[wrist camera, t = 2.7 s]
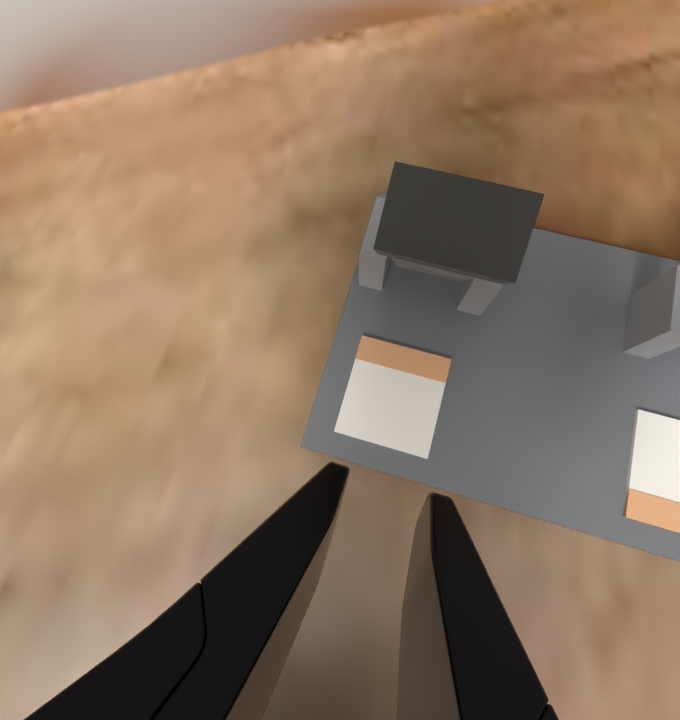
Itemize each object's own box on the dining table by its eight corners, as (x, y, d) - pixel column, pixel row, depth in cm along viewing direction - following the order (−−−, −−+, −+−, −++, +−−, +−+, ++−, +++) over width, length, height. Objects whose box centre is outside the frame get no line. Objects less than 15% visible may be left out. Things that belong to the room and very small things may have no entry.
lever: (459, 286, 21) (515, 282, 10) (391, 269, 21) (373, 248, 10) (471, 245, 20) (543, 194, 9) (402, 228, 21) (395, 161, 10)
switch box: (737, 578, 19) (848, 609, 14) (303, 448, 21) (289, 441, 17) (754, 293, 22) (849, 250, 18) (378, 206, 24) (382, 149, 20)
